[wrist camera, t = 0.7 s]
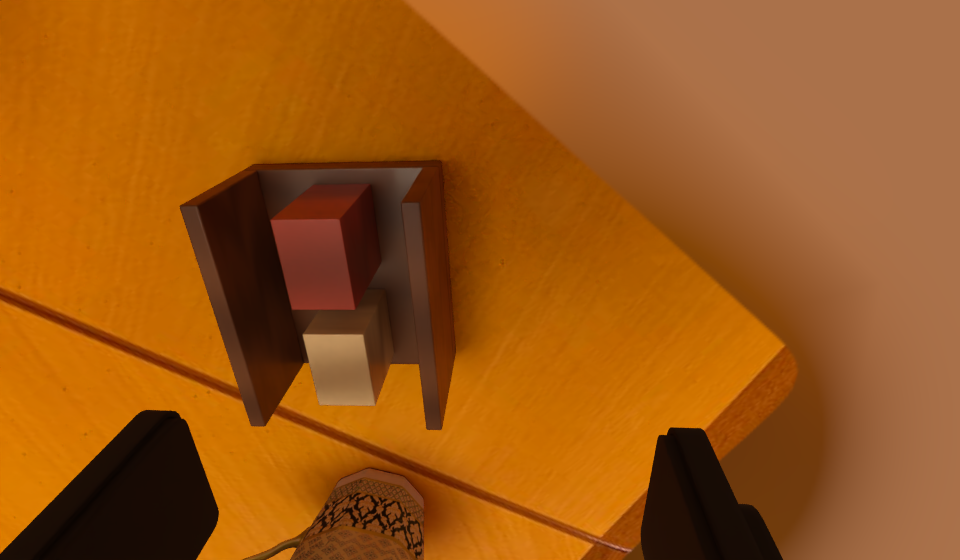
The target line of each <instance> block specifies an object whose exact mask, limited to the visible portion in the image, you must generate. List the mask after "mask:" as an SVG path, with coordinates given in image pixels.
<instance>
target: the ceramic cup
mask: <svg viewBox="0 0 960 560" xmlns="http://www.w3.org/2000/svg"><path fill="white" fill-rule="evenodd" d="M292 547H295V548H297V549H296V550H295V552H294V554H293V555H292V557H291V559H290V560H424V500H423V497H422V496H421V495H420V494H419V493H418V492H417V491H416V489H415V488H414V487H413V486H412V485H411V484H410V483H409V482H408V480H407V479H406V478H405V477H404V476H400V475H396V474H392V473H388V472H383V471H379V470H375V469H371V468H368V469H365V470H362V471H360V472H357V473H355V474H352V475H350V476H347V477H345V478H342V479H341V480H340V481H339V482H338V483H337V485H336V487H335V488H334V490H333V492H332V493H331V495H330V497H329V498H328V500H327V502H326V503H325V505H324V507H323V508H322V510H321V511H320V513H319V514H318V516H317V517H316V519H315V520H314V522H313V524H312V525H311V527H308V528H307V529H306V530H305V531H303V532H302V533H301V534H300V535H298V536H297V537H295V538H292V539H289V540H286V541H284V542H282V543H280V544H278V545H277V546H275V547H273V548H271V549H269V550H267V551H265V552H262V553H259V554H256V555H253V556H250V557H248V558H245V559H243V560H266V559H268V558H271V557H272V556H274V555H276V554H278V553H279V552H281V551H283V550H285V549H287V548H292Z"/></svg>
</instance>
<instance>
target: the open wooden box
mask: <svg viewBox="0 0 960 560" xmlns="http://www.w3.org/2000/svg"><path fill="white" fill-rule="evenodd" d="M180 210H181V213H182V216H183V219H184V222H185V225H186V228H187V231H188V234H189V237H190V240H191V243H192V247H193V250H194V253H195V256H196V259H197V262H198V265H199V268H200V271H201V274H202V277H203V280H204V283H205V286H206V289H207V292H208V296H209V299H210V302H211V305H212V308H213V311H214V314H215V317H216V320H217V323H218V326H219V329H220V332H221V335H222V338H223V341H224V345H225V348H226V351H227V354H228V357H229V360H230V363H231V366H232V369H233V372H234V375H235V378H236V381H237V384H238V387H239V391H240V394H241V397H242V400H243V403H244V406H245V409H246V412H247V415H248V418H249V421H250V424H251V426H266V424H267V423H268V421H269V419H270V418H271V416H272V414H273V413H274V411H275V410H276V408H277V406H278V405H279V403H280V401H281V400H282V398H283V397H284V395H285V393H286V392H287V390H288V388H289V387H290V385H291V384H292V382H293V380H294V379H295V377H296V375H297V374H298V372H299V371H300V369H301V367H302V366H303V364H304V363H309V364H310V368H311V372H312V376H313V381H314V385H315V389H316V393H317V397H318V402H319V405H356V406H375V405H376V402H377V399H378V397H379V394H380V391H381V388H382V386H383V383H384V380H385V377H386V375H387V372H388V369H389V366H390V364H419V368H420V377H421V386H422V395H423V403H424V412H425V421H426V428H427V430H441V429H442V426H443V420H444V415H445V409H446V404H447V398H448V393H449V387H450V382H451V376H452V371H453V366H454V360H455V354H456V350H455V336H454V322H453V308H452V294H451V281H450V267H449V253H448V239H447V226H446V212H445V198H444V184H443V170H442V162H441V161H395V162H348V163H300V164H254V165H252V166H250V167H248V168H247V169H245V170H243V171H241V172H239V173H238V174H236V175H234V176H232V177H230V178H229V179H227V180H225V181H223V182H221V183H220V184H218V185H216V186H214V187H213V188H211V189H209V190H207V191H205V192H204V193H202V194H200V195H198V196H197V197H195V198H193V199H191V200H189V201H188V202H186V203H184V204H182V205H180Z"/></svg>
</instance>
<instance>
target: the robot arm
mask: <svg viewBox="0 0 960 560" xmlns="http://www.w3.org/2000/svg"><path fill="white" fill-rule="evenodd" d="M218 516H219V511H218V507H217V504H216V501H215V499H214V496H213V493H212V490H211V488H210V485H209V482H208V479H207V477H206V474H205V471H204V468H203V465H202V463H201V460H200V457H199V454H198V452H197V449H196V446H195V443H194V441H193V438H192V435H191V432H190V430H189V427H188V424H187V422H186V421H185V420H184V419H181V417H180V415H179V414H178V413H177V412H175V411H159V410H145V411H142V412H140V413H139V414H138V415H136V416H135V417H134V418H133V419H132V420H131V421H130V422H129V423H128V424H127V425H126V426H125V427H124V428H123V430H122V431H121V432H120V433H119V434H118V435H117V436H116V437H115V438H114V439H113V440H112V441H111V442H110V443H109V444H108V445H107V446H106V447H105V448H104V449H103V450H102V451H101V452H100V453H99V454H98V455H97V456H96V457H95V458H94V459H93V460H92V461H91V462H90V463H89V464H88V465H87V466H86V467H85V468H84V469H83V470H82V471H81V472H80V473H79V474H78V475H77V476H76V477H75V478H74V479H73V480H72V481H71V482H70V483H69V484H68V485H67V486H66V487H65V488H64V489H63V491H62V492H61V493H60V494H59V495H58V496H57V497H56V498H55V499H54V500H53V501H52V502H51V503H50V504H49V505H48V506H47V507H46V508H45V509H44V510H43V511H42V512H41V513H40V514H39V515H38V516H37V517H36V518H35V519H34V520H33V521H32V522H31V523H30V524H29V525H28V526H27V527H26V528H25V529H24V530H23V531H22V532H21V533H20V534H19V535H18V536H17V537H16V538H15V539H14V540H13V541H12V542H11V543H10V544H9V545H8V546H7V547H6V548H5V549H4V550H3V552H2V553H1V554H0V560H196V559H197V557H198V555H199V554H200V552H201V550H202V549H203V547H204V545H205V544H206V542H207V540H208V539H209V537H210V536H211V534H212V532H213V531H214V529H215V527H216V524H217V521H218ZM641 545H642V550H643V555H644V559H645V560H783V559H782V557H781V555H780V553H779V550H778V548H777V547H776V545H775V542H774V540H773V538H772V537H771V534H770V532H769V530H768V528H767V526H766V524H765V522H764V520H763V519H762V517H761V515H760V514H759V512H758V511H757V509H755V508H754V507H753V506H752V505H747V504H738V502H737V500H736V498H735V496H734V494H733V492H732V489H731V487H730V485H729V483H728V481H727V479H726V476H725V474H724V472H723V470H722V468H721V466H720V463H719V461H718V459H717V457H716V455H715V452H714V450H713V448H712V446H711V444H710V442H709V439H708V437H707V435H706V433H705V432H704V430H702V429H701V428H670V429H669V430H668V433H667V435H659V437H658V440H657V445H656V450H655V456H654V461H653V466H652V472H651V477H650V483H649V488H648V494H647V499H646V504H645V510H644V515H643V521H642V526H641Z"/></svg>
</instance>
